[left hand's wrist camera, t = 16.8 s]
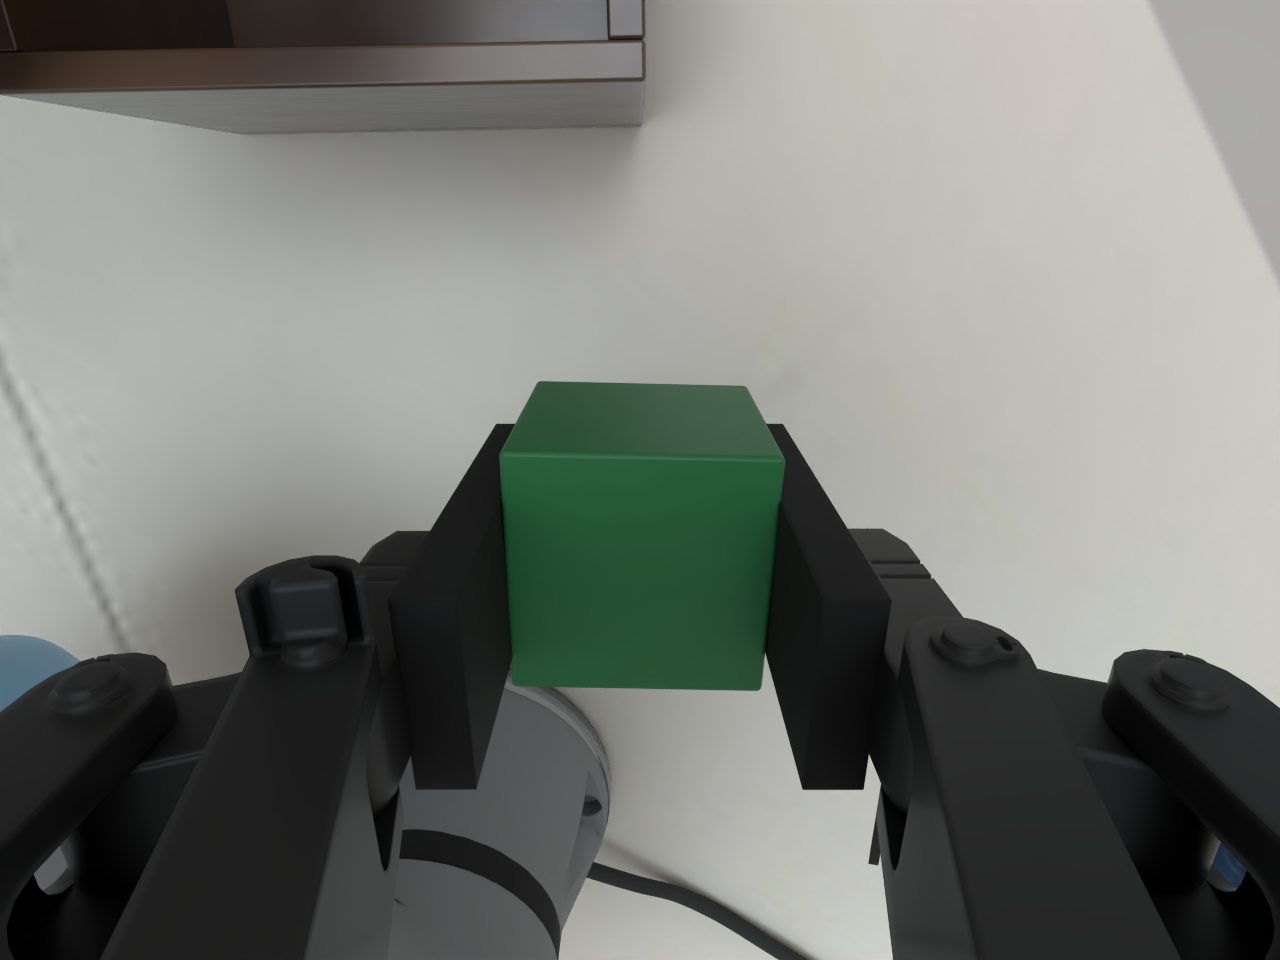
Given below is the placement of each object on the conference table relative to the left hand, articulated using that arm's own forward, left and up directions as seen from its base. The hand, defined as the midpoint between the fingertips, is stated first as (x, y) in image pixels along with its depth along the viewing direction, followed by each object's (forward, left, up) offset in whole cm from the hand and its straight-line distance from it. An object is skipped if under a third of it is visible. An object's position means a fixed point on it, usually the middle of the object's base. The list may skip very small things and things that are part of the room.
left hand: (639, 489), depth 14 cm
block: (0, 0, 0) cm, 0 cm away
